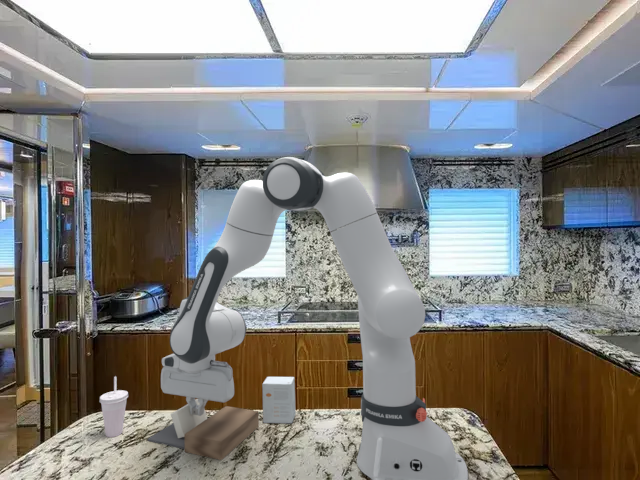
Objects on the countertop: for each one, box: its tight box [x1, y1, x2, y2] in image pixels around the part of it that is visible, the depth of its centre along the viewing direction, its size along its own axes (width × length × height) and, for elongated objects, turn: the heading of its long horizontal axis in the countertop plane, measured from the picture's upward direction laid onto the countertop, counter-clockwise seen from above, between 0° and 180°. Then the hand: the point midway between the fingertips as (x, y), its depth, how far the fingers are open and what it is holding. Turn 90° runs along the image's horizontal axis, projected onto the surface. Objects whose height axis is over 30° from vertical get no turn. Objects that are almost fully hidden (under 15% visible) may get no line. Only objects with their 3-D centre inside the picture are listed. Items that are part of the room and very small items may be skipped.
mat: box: [147, 422, 185, 450], centre depth 94 cm, size 12×14×1 cm
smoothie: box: [98, 376, 129, 438], centre depth 94 cm, size 6×6×14 cm
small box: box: [262, 376, 296, 424], centre depth 100 cm, size 8×6×10 cm
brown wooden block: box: [184, 405, 260, 461], centre depth 90 cm, size 10×16×4 cm, turn 159°
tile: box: [170, 398, 209, 438], centre depth 94 cm, size 6×9×2 cm
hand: (197, 414), depth 93 cm, fingers closed
